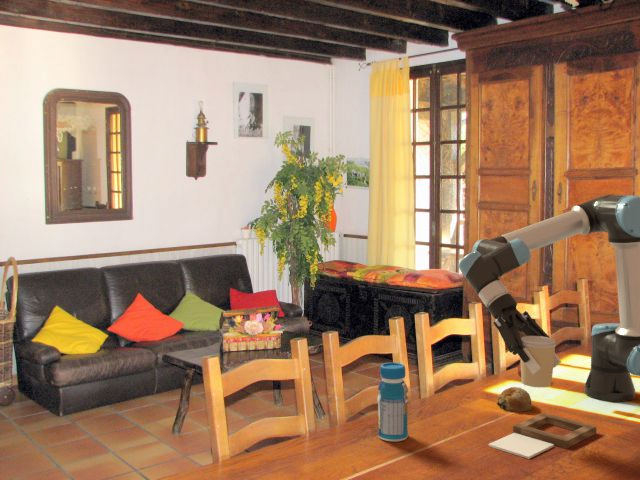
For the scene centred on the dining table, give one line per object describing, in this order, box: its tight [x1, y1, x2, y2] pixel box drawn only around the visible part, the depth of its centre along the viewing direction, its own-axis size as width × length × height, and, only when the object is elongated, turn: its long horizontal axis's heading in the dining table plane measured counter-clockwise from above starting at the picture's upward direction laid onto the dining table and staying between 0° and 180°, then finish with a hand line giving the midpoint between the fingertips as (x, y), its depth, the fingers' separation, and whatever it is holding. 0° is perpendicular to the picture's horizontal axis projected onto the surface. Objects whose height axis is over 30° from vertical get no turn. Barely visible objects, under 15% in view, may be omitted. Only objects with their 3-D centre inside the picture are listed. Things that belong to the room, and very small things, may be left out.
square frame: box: [512, 412, 597, 449], centre depth 203 cm, size 16×16×2 cm
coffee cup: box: [519, 335, 557, 388], centre depth 197 cm, size 9×9×12 cm
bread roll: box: [496, 386, 533, 413], centre depth 225 cm, size 10×10×8 cm
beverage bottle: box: [376, 362, 409, 443], centre depth 200 cm, size 8×8×20 cm
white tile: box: [488, 432, 555, 460], centre depth 193 cm, size 12×12×1 cm
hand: (547, 368), depth 194 cm, fingers closed on coffee cup, 9 cm apart
